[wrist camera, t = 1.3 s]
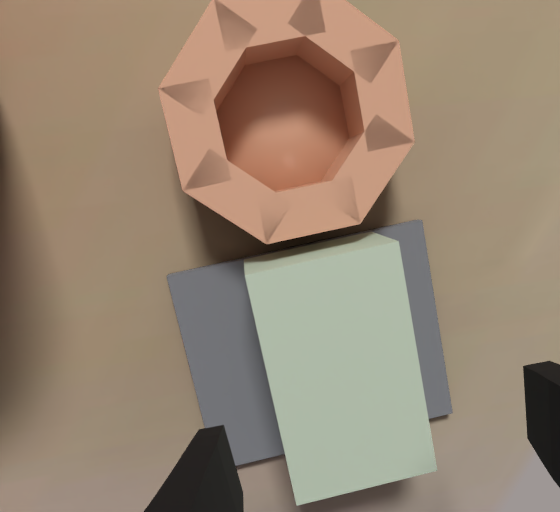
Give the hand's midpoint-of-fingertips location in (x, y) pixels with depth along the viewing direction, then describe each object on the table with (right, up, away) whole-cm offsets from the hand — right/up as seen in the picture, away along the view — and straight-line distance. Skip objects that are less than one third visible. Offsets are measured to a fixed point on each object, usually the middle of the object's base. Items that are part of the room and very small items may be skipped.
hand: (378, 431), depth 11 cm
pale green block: (0, 0, +9) cm, 9 cm away
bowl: (-2, +9, +8) cm, 13 cm away
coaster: (-1, 0, +10) cm, 10 cm away
